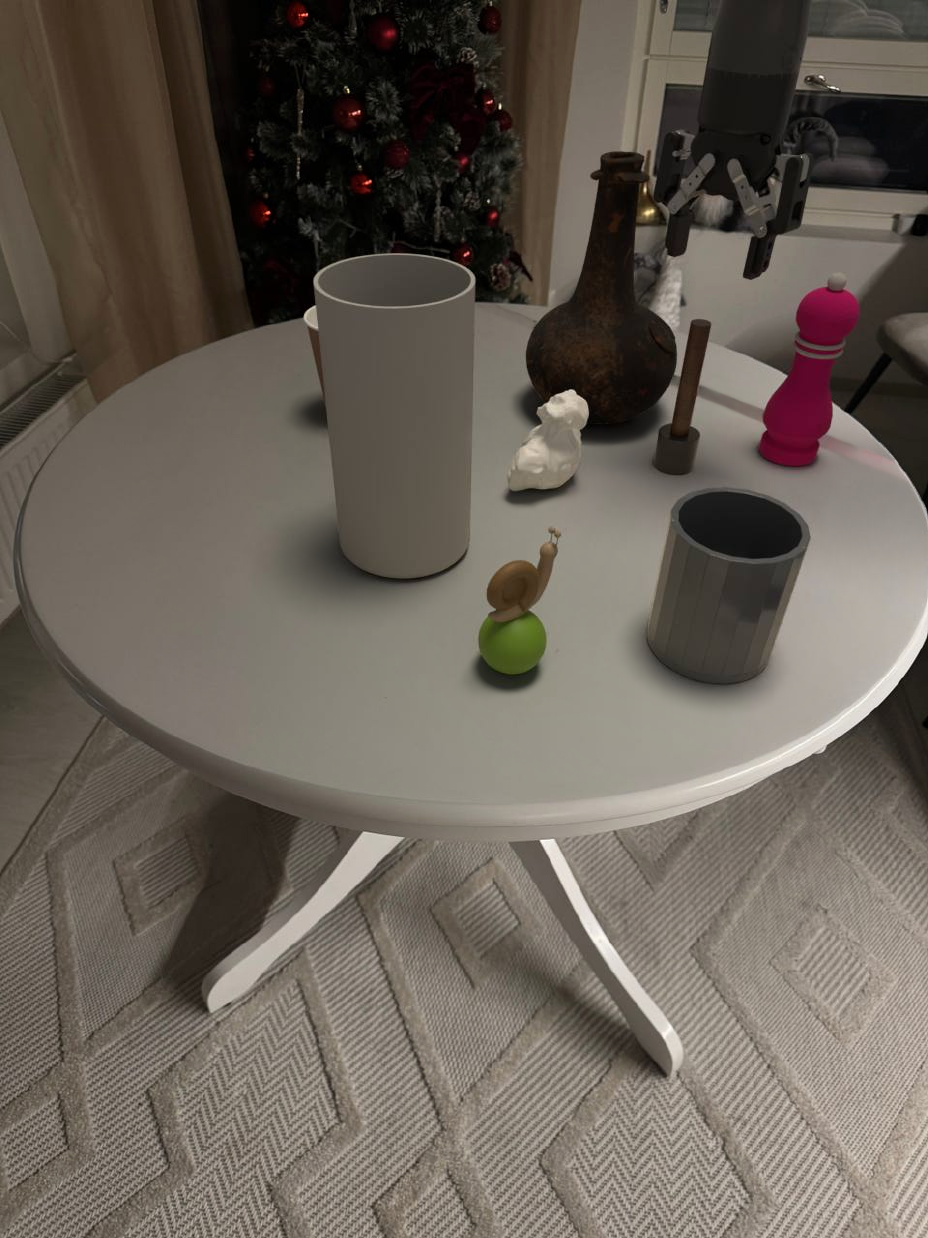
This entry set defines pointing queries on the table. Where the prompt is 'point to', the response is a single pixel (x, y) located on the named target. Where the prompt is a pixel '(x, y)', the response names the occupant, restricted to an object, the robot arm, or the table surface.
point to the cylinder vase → (399, 408)
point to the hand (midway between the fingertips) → (712, 265)
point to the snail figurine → (517, 613)
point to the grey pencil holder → (725, 583)
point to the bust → (551, 445)
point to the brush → (684, 408)
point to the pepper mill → (809, 376)
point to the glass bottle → (606, 314)
